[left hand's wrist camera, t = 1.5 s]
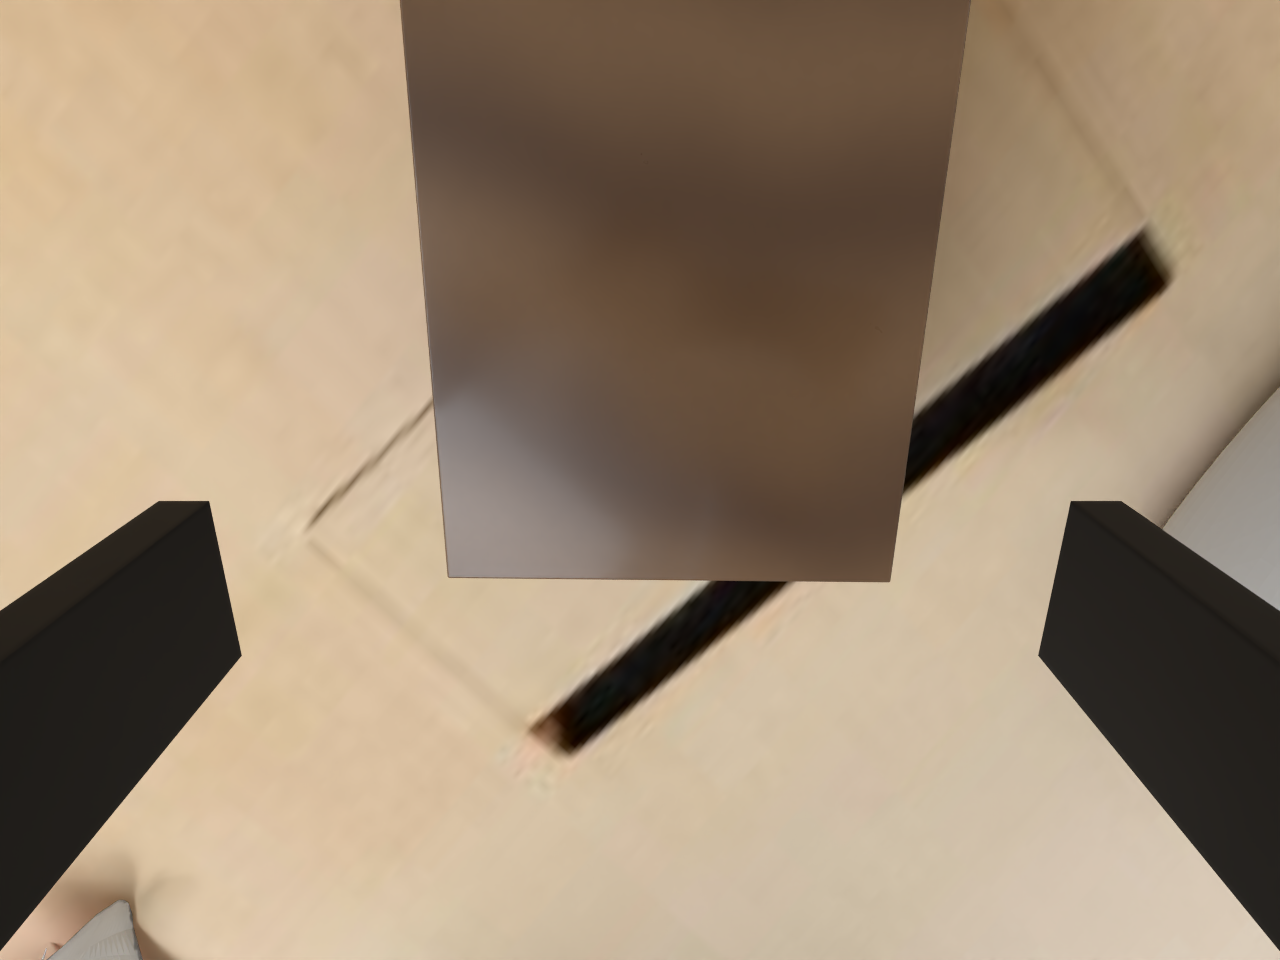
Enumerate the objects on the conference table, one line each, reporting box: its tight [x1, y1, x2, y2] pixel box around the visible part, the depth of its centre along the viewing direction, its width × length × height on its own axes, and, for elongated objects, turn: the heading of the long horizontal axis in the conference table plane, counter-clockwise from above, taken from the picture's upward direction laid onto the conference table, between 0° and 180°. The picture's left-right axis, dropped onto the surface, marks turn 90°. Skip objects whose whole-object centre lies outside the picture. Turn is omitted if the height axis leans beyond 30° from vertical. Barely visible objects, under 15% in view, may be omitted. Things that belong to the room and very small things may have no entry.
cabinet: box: [400, 0, 971, 582], centre depth 23 cm, size 20×11×12 cm, turn 0°
